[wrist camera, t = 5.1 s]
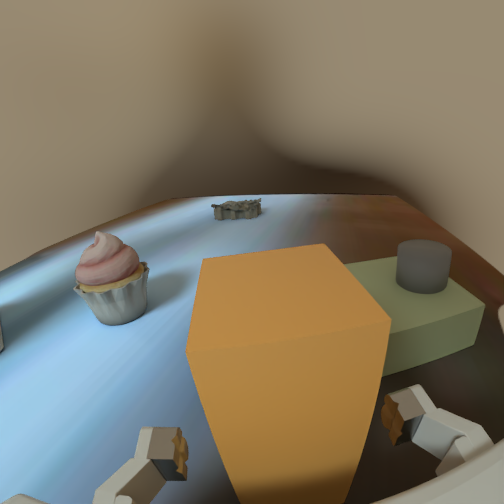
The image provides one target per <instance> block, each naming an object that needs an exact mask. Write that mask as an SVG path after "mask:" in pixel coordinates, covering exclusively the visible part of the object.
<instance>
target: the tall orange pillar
mask: <svg viewBox="0 0 504 504" xmlns="http://www.w3.org/2000/svg"><path fill="white" fill-rule="evenodd" d="M391 320H392V319H391V318H390V317H389V316H388V315H387V313H386V312H385V311H384V310H383V309H382V308H381V306H380V305H379V304H378V303H377V302H376V301H375V299H374V298H373V297H372V296H371V295H370V294H369V293H368V291H367V290H366V289H365V288H364V287H363V286H362V285H361V284H360V282H359V281H358V280H357V279H356V278H355V277H354V276H353V275H352V273H351V272H350V271H349V270H348V269H347V268H346V267H345V266H344V265H343V264H342V262H341V261H340V260H339V259H338V258H337V257H336V256H335V255H334V254H333V253H332V252H331V250H330V249H329V248H328V247H327V246H326V245H325V244H324V243H323V244H315V245H307V246H300V247H292V248H284V249H276V250H269V251H261V252H253V253H245V254H237V255H230V256H222V257H214V258H206V259H203V260H202V265H201V270H200V275H199V280H198V285H197V291H196V296H195V301H194V307H193V312H192V317H191V323H190V329H189V334H188V340H187V346H186V355H187V359H188V362H189V365H190V369H191V372H192V375H193V378H194V382H195V385H196V388H197V391H198V394H199V397H200V400H201V403H202V406H203V409H204V412H205V415H206V418H207V421H208V423H209V426H210V429H211V432H212V435H213V437H214V440H215V443H216V445H217V448H218V451H219V453H220V456H221V458H222V461H223V464H224V466H225V469H226V471H227V473H228V476H229V478H230V481H231V483H232V486H233V488H234V490H235V493H236V495H237V497H238V500H239V502H240V504H341V503H344V502H345V499H346V497H347V494H348V492H349V489H350V486H351V483H352V481H353V478H354V475H355V472H356V469H357V466H358V463H359V460H360V457H361V454H362V451H363V448H364V444H365V441H366V437H367V434H368V430H369V427H370V423H371V419H372V416H373V412H374V408H375V404H376V400H377V395H378V391H379V387H380V382H381V377H382V372H383V367H384V362H385V357H386V351H387V346H388V339H389V333H390V327H391Z"/></svg>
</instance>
